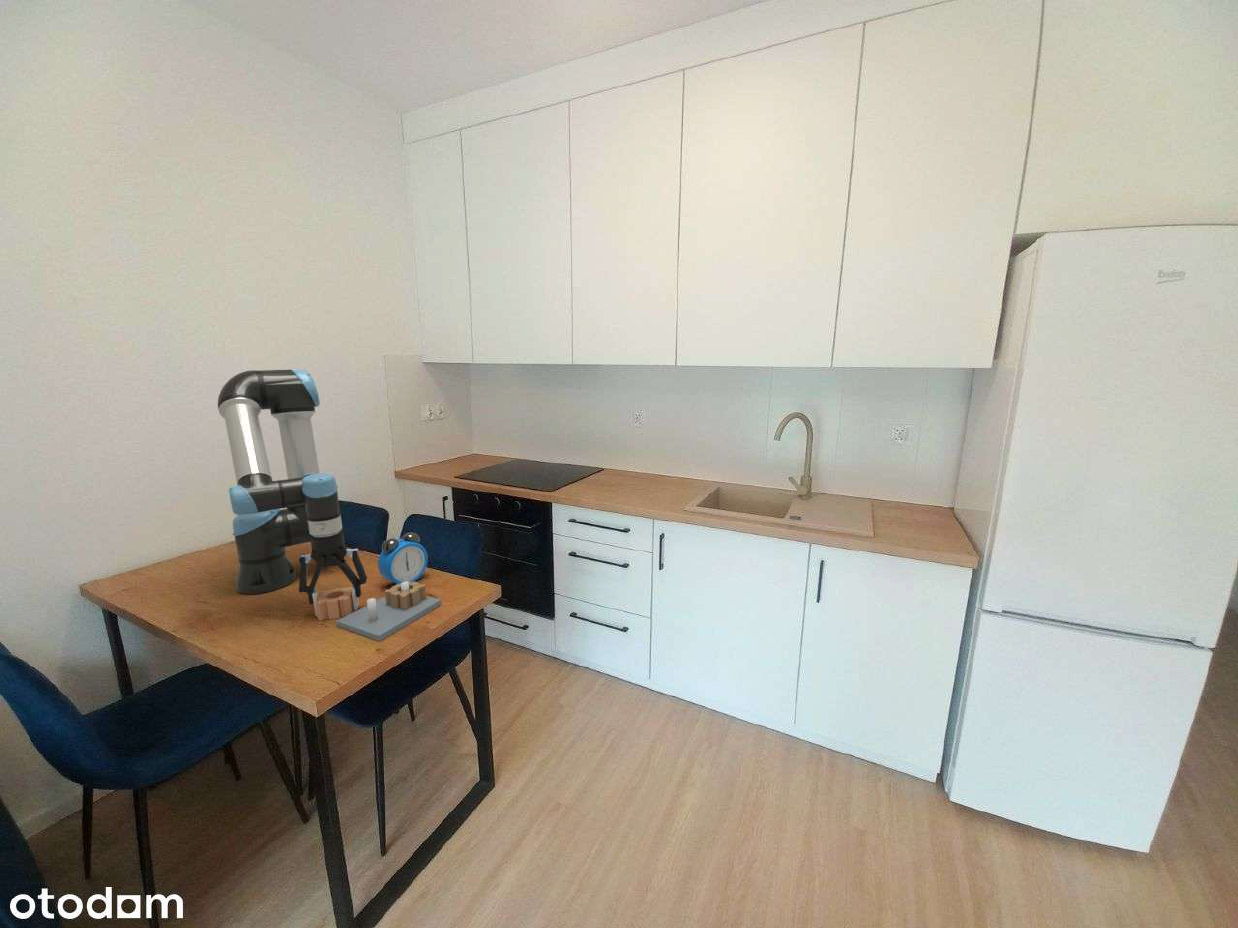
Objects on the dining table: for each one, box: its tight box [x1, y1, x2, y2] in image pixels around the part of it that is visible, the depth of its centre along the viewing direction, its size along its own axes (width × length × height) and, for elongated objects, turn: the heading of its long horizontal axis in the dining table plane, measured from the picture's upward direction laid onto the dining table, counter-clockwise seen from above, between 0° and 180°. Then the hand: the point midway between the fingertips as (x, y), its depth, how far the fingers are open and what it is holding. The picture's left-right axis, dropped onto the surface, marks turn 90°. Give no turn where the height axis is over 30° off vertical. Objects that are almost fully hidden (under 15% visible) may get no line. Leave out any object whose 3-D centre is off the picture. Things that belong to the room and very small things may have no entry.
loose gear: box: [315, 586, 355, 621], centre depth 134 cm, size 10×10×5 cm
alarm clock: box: [377, 531, 429, 585], centre depth 150 cm, size 13×6×15 cm, turn 144°
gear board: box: [335, 580, 442, 642], centre depth 131 cm, size 16×20×7 cm
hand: (337, 610), depth 134 cm, fingers open, 8 cm apart
